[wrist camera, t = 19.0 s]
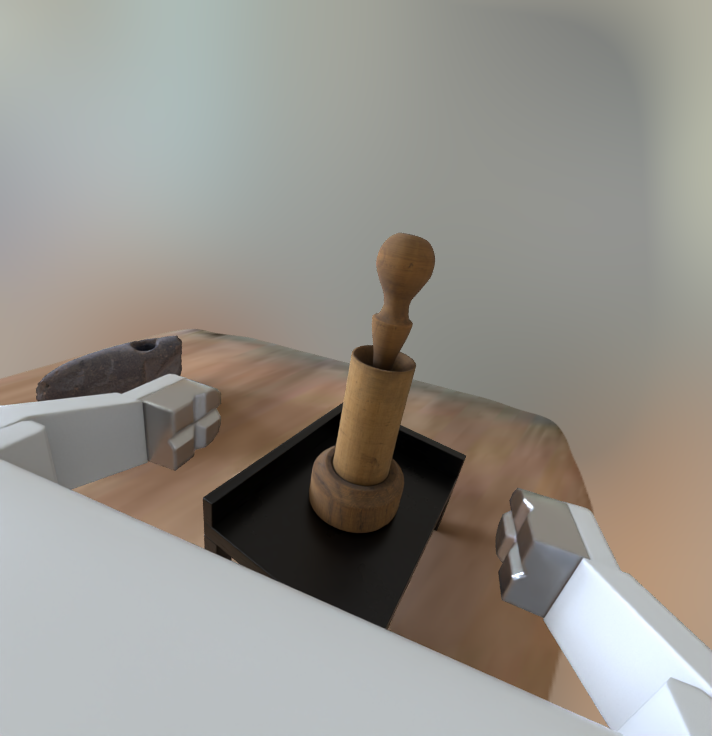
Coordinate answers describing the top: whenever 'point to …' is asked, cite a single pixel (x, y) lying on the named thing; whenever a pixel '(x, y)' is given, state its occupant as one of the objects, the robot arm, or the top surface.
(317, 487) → the mortar and pestle
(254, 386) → the top surface
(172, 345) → the perforated stone tool
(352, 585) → the tray
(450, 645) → the top surface
